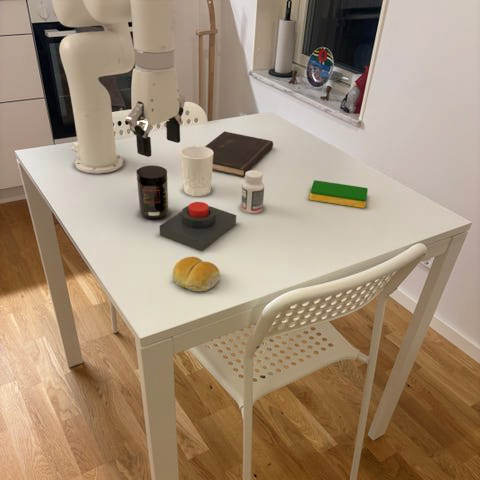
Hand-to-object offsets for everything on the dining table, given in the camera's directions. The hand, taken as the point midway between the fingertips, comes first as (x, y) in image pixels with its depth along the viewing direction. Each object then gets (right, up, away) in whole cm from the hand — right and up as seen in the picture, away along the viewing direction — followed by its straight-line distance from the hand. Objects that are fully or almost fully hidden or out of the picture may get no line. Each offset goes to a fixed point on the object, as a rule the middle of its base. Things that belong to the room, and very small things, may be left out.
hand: (159, 147), depth 108 cm
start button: (+8, -13, +4) cm, 16 cm away
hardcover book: (+15, +11, +40) cm, 44 cm away
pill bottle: (+20, -9, +16) cm, 27 cm away
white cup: (+6, -4, +22) cm, 23 cm away
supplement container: (-3, -12, +12) cm, 17 cm away
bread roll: (+8, -29, -8) cm, 31 cm away
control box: (+8, -16, +7) cm, 19 cm away
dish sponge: (+42, -5, +23) cm, 48 cm away
